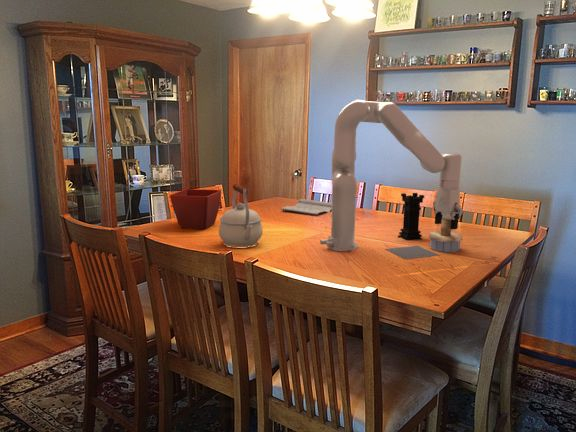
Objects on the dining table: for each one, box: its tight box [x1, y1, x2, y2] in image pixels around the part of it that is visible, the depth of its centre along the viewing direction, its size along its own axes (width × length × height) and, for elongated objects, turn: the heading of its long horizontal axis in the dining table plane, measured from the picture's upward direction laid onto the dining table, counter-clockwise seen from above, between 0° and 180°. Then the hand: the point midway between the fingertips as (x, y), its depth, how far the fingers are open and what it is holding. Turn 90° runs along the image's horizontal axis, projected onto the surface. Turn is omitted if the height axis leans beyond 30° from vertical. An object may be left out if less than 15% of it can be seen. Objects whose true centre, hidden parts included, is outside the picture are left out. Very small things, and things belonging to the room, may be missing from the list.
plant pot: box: [169, 188, 222, 230], centre depth 240 cm, size 19×19×17 cm
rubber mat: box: [384, 245, 440, 260], centre depth 197 cm, size 16×15×1 cm
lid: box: [428, 217, 463, 242], centre depth 200 cm, size 13×13×8 cm
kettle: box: [218, 183, 264, 247], centre depth 205 cm, size 25×18×25 cm
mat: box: [281, 198, 332, 217], centre depth 281 cm, size 23×24×5 cm
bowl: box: [429, 239, 461, 253], centre depth 202 cm, size 11×11×5 cm
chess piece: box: [397, 192, 425, 241], centre depth 217 cm, size 8×8×20 cm
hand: (445, 226), depth 200 cm, fingers open, 9 cm apart
